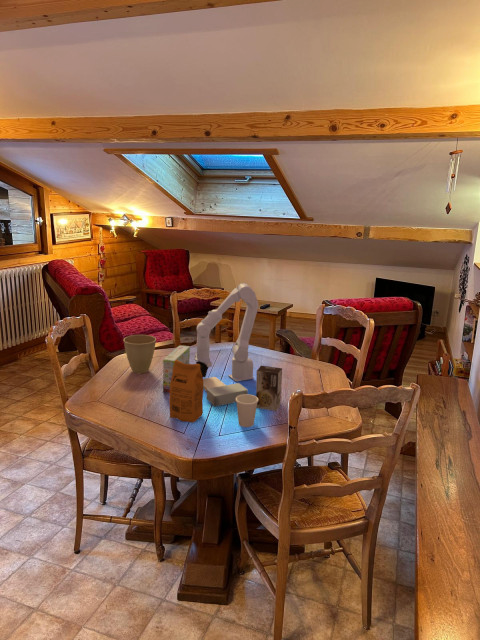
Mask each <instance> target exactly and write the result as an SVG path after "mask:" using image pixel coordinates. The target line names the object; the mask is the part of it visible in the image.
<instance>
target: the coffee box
mask: <svg viewBox="0 0 480 640" xmlns="http://www.w3.org/2000/svg"><path fill="white" fill-rule="evenodd" d="M282 376H283V368H281V367H276V366H275V367H274V366H269V365H268V366H266V365H260V366H259V367H258V369H257V370H256V380H255V381H256V382H255V383H256V386H255V387H256V388H255V390H256V391H255V396H256V397H257V398H258V402H257V408H256V409H261V410H267V411H273V412H278V410H279V409H280V407H281V406H282V405H281V404H282V403H281V400H282V379H283V377H282ZM280 405H281V406H280Z"/></svg>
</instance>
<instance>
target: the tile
mask: <svg viewBox="0 0 480 640" xmlns="http://www.w3.org/2000/svg"><path fill="white" fill-rule="evenodd" d="M225 385H226V384H225V383H224V381H223V382H222V380H220V379H219V378H217V377H216V376H212V377H211V376H210V377H207V378H206V377H204V378H203V391H205V392H206V393H207V389H209V388H214V387H220V386H225Z"/></svg>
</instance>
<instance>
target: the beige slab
mask: <svg viewBox="0 0 480 640" xmlns="http://www.w3.org/2000/svg"><path fill="white" fill-rule="evenodd" d="M248 391H249V390H248V388H247V387H245V386H243V385H242V384H241V383H240V382H236V383H232V384H225V386H220V387H214V388H209V389H207V392H206V400H207V401H208V402H209V403H210V404H211V405H213V407H219V406H225V405H229V404H235V403H237V402H236V397H237V396H239V395H243V394H249V393H248Z"/></svg>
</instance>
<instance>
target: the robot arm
mask: <svg viewBox="0 0 480 640" xmlns="http://www.w3.org/2000/svg"><path fill="white" fill-rule="evenodd" d="M242 301H244V303H245V304H246V309H245V311H244V312H245V313H244V317H243V319H242V323H241V327H240V331H239V335H238V337H237V339H236V342H235V343H234V345H233V346H232V348H231V349H232V351H231V352H232V353H233V356H232V358H231V374H228V377H229V378H230V379H232V380H233V381H234V382H236V383H238V382H243V381H248V380H252V379H254V362H253V360H252V358H249V348H250V347H249V342H250V339H251V334H252V332H253V331H252V330H253V327H254V323H255V322H256V321H255V319H256V317H257V314H258V309H259V305H260V304H259V301H258V298H257V296H256V292H255V291H254V290H253V288H252V287H251V286H250V285H249V284H248V283H246V282H240V283H238V285H237V287H235V288H234V289H233V290H232V291H230V293H229V294H228V295H227V297H226V298H225V299H224V300H223V301H222V303H221V304H220V305H219V306H218V307H217V308H216V309H212V310H209V311H208V312H207V313H208V314H207V316H205V317H204V319H201V321H200V322H199V323H198V324H197V325H196V332H197V333H196V334H197V335H196V353H194V357H195V358H194V359H193V360H194V361H195V364H200V365H201V367H200V370H201V373H202V377H203V378H206V376H207V373H208V369H209V368H211V367H212V365H213V364H212V361H211V358H210V357H211V356H210V334H211V331H212V330H213V329H214V328H215V327H216V325H218V323H220V322H221V320H222V319H223V314H224V313H226V311H227V310H229V308H230V307H232V306H233V304H234V303H240V302H242Z"/></svg>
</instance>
